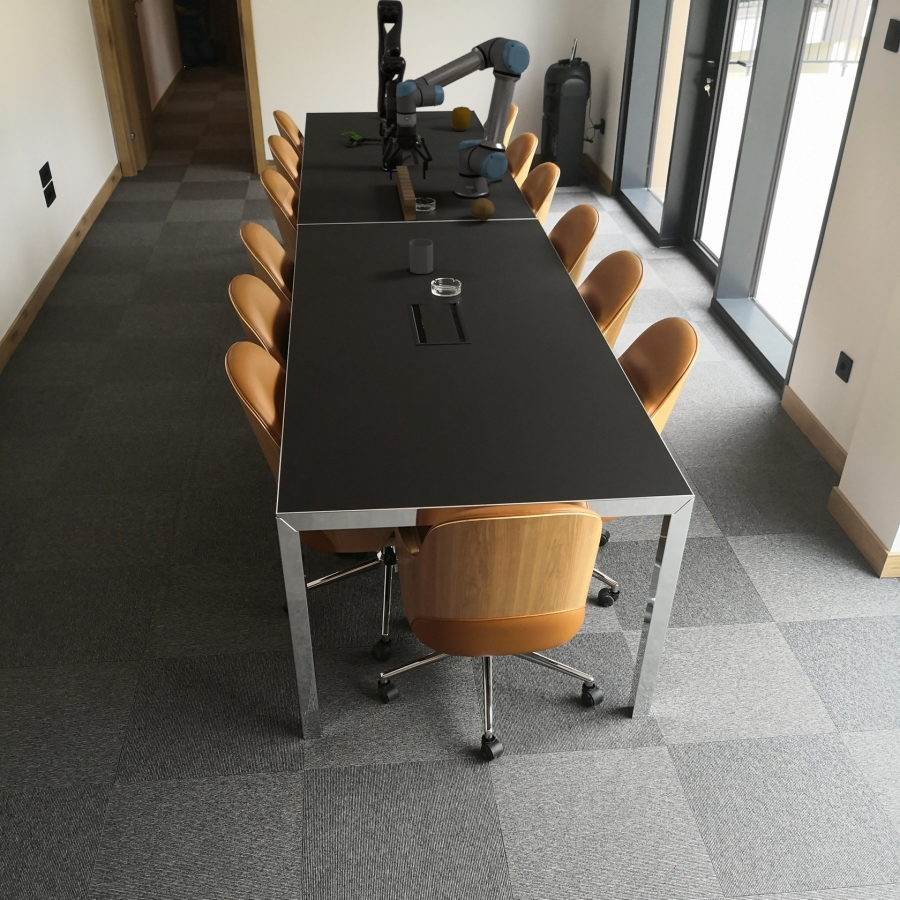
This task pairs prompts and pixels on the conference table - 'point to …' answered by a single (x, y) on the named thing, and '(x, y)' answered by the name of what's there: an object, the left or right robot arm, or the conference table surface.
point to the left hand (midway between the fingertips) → (396, 145)
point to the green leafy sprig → (358, 139)
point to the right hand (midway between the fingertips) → (407, 179)
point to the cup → (421, 256)
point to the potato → (482, 209)
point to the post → (406, 193)
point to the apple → (461, 118)
